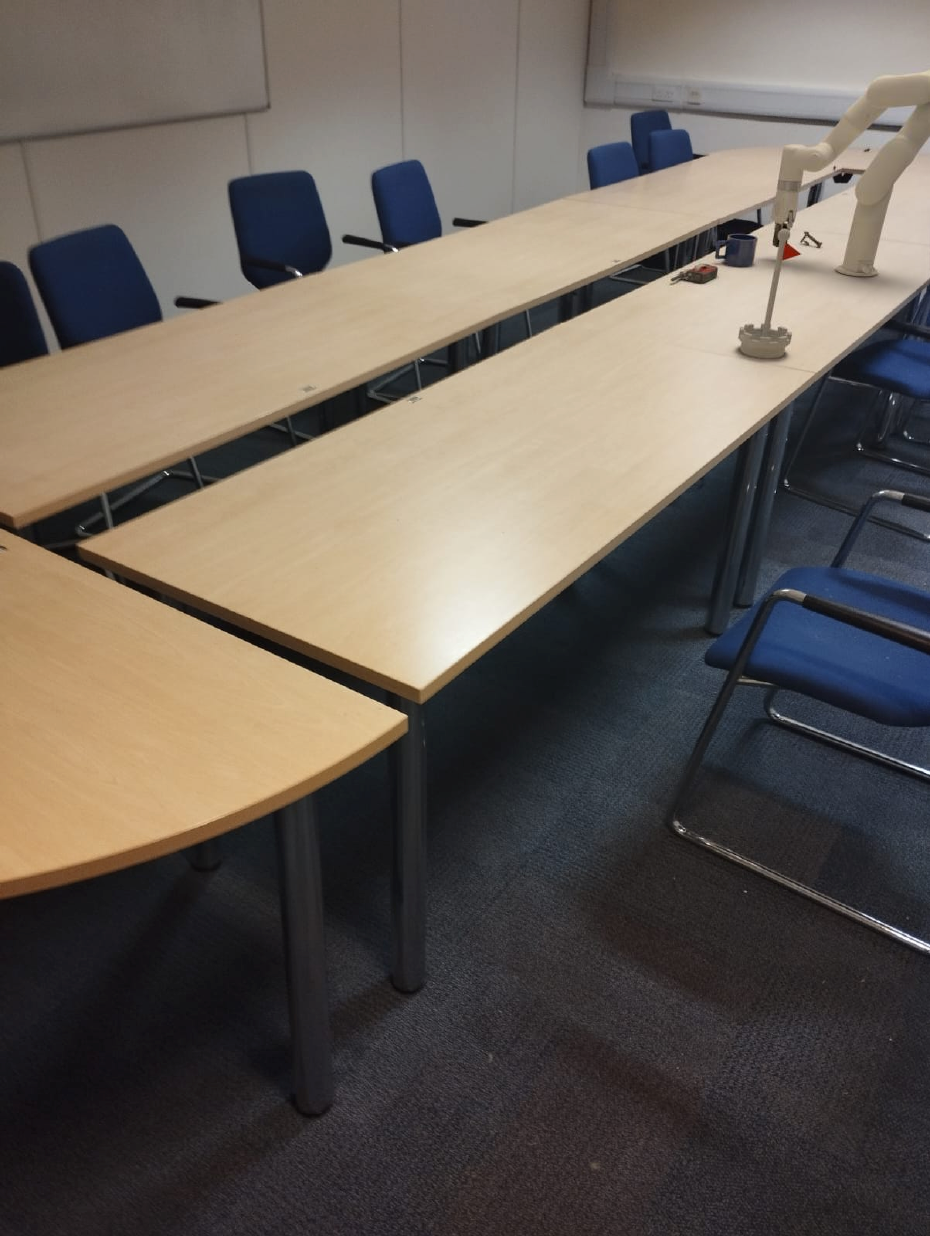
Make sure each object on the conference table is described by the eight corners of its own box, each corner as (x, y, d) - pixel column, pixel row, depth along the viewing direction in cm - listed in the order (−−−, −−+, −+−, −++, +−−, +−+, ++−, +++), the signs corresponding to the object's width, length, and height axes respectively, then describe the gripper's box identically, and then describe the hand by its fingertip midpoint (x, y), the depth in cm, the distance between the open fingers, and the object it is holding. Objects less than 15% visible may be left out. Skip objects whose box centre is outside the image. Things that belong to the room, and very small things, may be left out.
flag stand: (727, 352, 250) (748, 229, 234) (748, 340, 259) (770, 220, 243) (775, 363, 244) (800, 237, 227) (796, 350, 252) (821, 228, 236)
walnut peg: (785, 247, 330) (789, 225, 326) (776, 247, 330) (779, 225, 326) (782, 244, 333) (785, 223, 329) (772, 245, 332) (776, 223, 329)
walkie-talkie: (694, 271, 320) (667, 284, 306) (696, 257, 317) (669, 269, 303) (719, 275, 315) (693, 288, 302) (721, 261, 313) (695, 274, 299)
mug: (747, 259, 335) (751, 233, 330) (757, 266, 327) (762, 240, 322) (709, 260, 334) (713, 233, 329) (718, 267, 325) (722, 240, 321)
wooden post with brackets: (799, 240, 358) (806, 229, 354) (816, 253, 355) (823, 242, 352) (797, 240, 357) (804, 229, 353) (813, 253, 354) (820, 242, 351)
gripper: (768, 182, 328) (760, 239, 337) (787, 190, 314) (778, 249, 324) (790, 181, 328) (781, 239, 338) (810, 189, 314) (799, 249, 324)
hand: (779, 243), depth 331 cm, fingers closed on walnut peg, 3 cm apart
